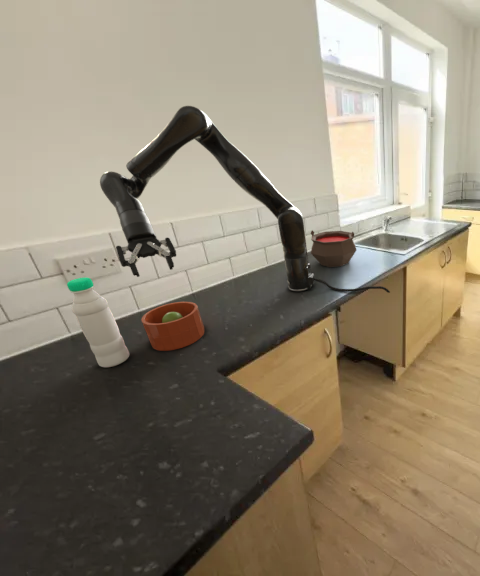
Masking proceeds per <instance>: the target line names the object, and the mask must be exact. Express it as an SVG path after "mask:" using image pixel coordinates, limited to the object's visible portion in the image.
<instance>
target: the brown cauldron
mask: <svg viewBox="0 0 480 576" xmlns="http://www.w3.org/2000/svg"><path fill="white" fill-rule="evenodd" d="M310 235H311V239H310V240H311V241H312V245H311V249H310V254H311V255H312V256H313V257H314V258H315V260H316V261H317V262H318V263H319V264H320V266H324V267H327V268H336V267H337V268H338V267H343V266H345V265H347V264H349V263H350V261H351V260H352V258H353V256H354V255H355V253H356V252H357V247H356V244H355V242H354V240H353V239H354V237H355V232H354V231H352V232H350V231H344V230H330V231H321V232H318V233H315V231H314V230H313V229H312V230H310Z"/></svg>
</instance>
